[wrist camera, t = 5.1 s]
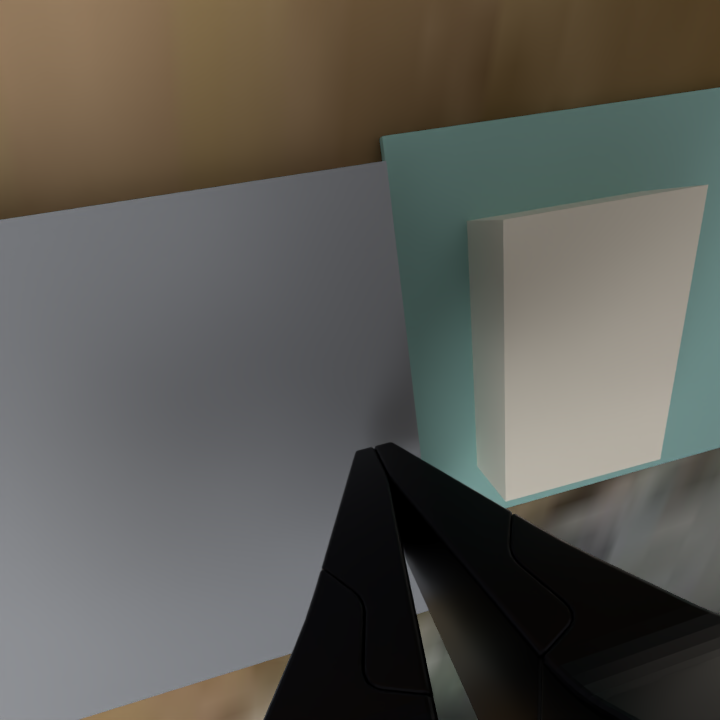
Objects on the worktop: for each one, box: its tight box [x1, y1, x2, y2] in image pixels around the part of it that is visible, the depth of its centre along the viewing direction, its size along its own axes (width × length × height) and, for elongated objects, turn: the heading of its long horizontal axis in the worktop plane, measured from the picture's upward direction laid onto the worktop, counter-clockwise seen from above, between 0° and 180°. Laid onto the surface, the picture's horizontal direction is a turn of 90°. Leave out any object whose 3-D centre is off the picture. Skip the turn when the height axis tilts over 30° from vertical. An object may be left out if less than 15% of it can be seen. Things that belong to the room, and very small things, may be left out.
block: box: [467, 185, 708, 501], centre depth 12 cm, size 9×6×2 cm, turn 9°
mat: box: [380, 87, 720, 508], centre depth 14 cm, size 14×15×1 cm
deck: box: [0, 161, 429, 720], centre depth 10 cm, size 12×16×4 cm
